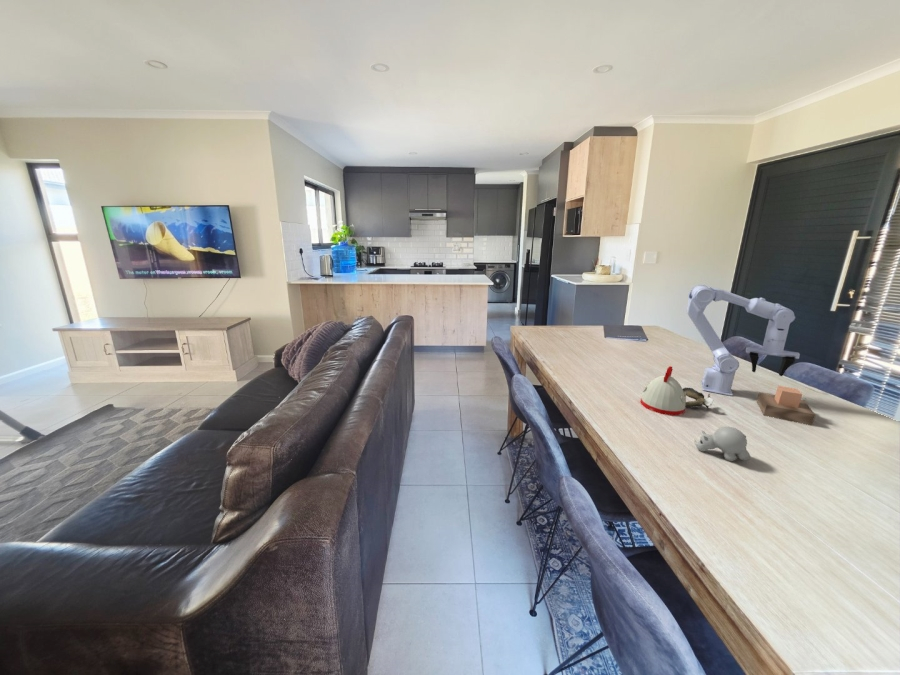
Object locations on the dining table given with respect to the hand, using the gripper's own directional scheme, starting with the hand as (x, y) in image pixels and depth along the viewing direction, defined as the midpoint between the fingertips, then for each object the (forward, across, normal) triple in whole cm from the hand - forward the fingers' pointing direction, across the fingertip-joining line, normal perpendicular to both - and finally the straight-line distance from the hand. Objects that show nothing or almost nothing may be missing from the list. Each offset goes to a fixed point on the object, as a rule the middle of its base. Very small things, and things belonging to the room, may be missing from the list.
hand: (766, 373), depth 128 cm
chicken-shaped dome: (+9, -32, -30) cm, 45 cm away
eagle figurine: (+9, -22, -24) cm, 34 cm away
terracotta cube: (+6, +4, -13) cm, 15 cm away
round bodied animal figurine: (+9, -16, -55) cm, 58 cm away
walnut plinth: (+10, +4, -12) cm, 16 cm away
